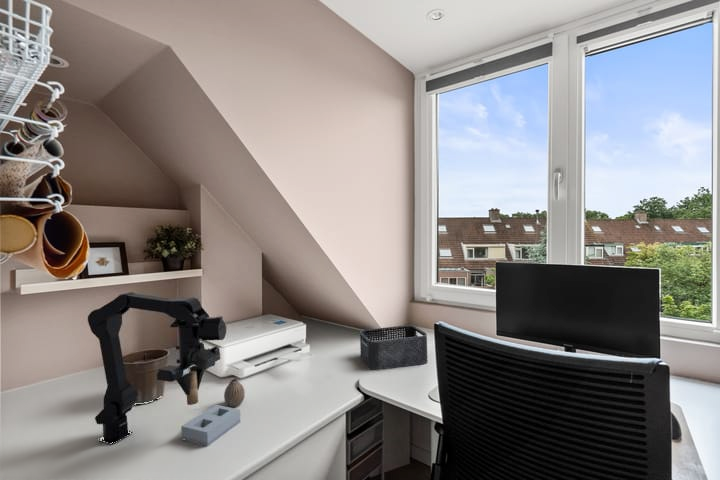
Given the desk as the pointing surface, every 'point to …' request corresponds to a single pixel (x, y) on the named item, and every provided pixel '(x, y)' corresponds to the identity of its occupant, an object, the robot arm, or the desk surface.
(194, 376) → the dowel
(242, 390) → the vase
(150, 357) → the plant pot
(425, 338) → the storage bin
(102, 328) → the robot arm
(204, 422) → the socket block
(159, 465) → the desk surface
